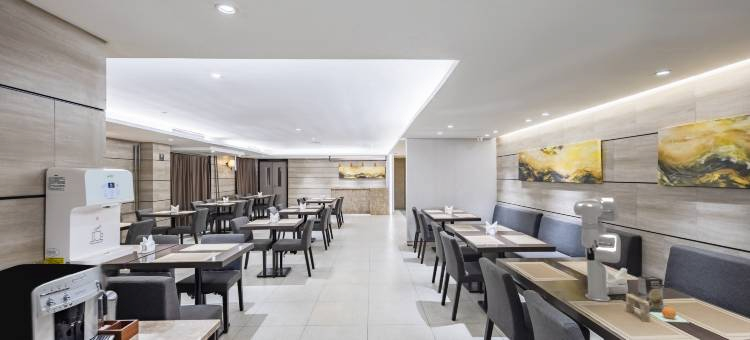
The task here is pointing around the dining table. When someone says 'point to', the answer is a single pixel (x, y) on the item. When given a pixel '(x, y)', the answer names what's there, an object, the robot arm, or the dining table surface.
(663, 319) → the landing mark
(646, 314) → the bridge
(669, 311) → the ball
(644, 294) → the coffee box
